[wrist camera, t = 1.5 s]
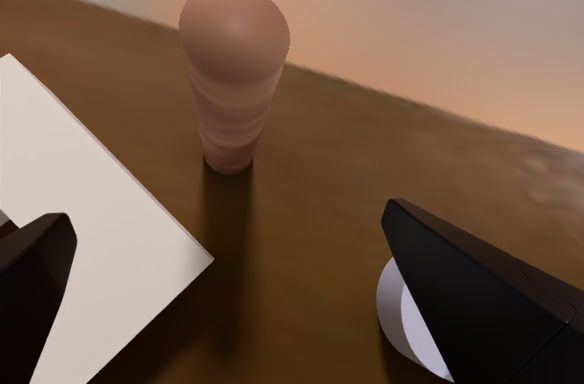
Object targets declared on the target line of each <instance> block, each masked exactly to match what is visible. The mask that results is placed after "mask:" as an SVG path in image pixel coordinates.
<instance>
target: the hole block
mask: <svg viewBox="0 0 584 384" xmlns="http://www.w3.org/2000/svg"><path fill="white" fill-rule="evenodd" d="M58 212H64V213H66V214H67V215H68V216H69V218H70V220H71V223H72V225H73V228H74V230H75V233H76V235H77V248H76V252H75V256H74V259H73V263H72V267H71V271H70V275H69V279H68V283H67V286H66V290H65V294H64V297H63V300H62V303H61V306H60V308H59V311H58V313H57V316H56V318H55V321H54V323H53V326H52V328H51V331H50V333H49V336H48V338H47V341H46V343H45V346H44V348H43V351H42V353H41V356H40V358H39V361H38V363H37V366H36V368H35V371H34V373H33V376H32V378H31V381H30V383H29V384H86V383H87V382H88V381H89V380H90V379H91V378H92V377H93V376H94V375H96V374H97V373H98V372H99V371H100V370H101V369H102V368H103V367H104V366H105V365H106V364H107V363H108V362H109V361H110V360H111V359H112V358H113V357H114V356H115V355H116V354H117V353H118V352H119V351H120V350H121V349H122V348H123V347H125V346H126V345H127V344H128V343H129V342H130V341H131V340H132V339H133V338H134V337H135V336H136V335H137V334H138V333H139V332H140V331H141V330H142V329H143V328H144V327H145V326H146V325H147V324H148V323H149V322H150V321H151V320H153V319H154V318H155V317H156V316H157V315H158V314H159V313H160V312H161V311H162V310H163V309H164V308H165V307H166V306H167V305H168V304H169V303H170V302H171V301H172V300H173V299H174V298H175V297H176V296H177V295H178V294H179V293H180V292H182V291H183V290H184V289H185V288H186V287H187V286H188V285H189V284H190V283H191V282H192V281H193V280H194V279H195V278H196V277H197V276H198V275H199V274H200V273H201V272H202V271H203V270H204V269H205V268H206V267H207V266H208V265H210V264H211V263H212V262H213V260H214V258H213V257H212V256H211V255H210V254H209V253H208V252H207V251H206V250H205V249H204V248H203V247H202V246H201V245H200V244H199V242H198V241H197V240H196V239H195V238H194V237H193V236H192V235H191V234H190V233H189V232H188V231H187V230H186V229H185V228H184V227H183V226H182V225H181V224H180V223H179V222H178V221H177V220H176V219H175V218H174V217H173V216H172V215H171V214H170V213H169V212H168V211H167V210H166V209H165V208H164V207H163V206H162V205H161V204H160V203H159V202H158V201H157V200H156V198H155V197H154V196H153V195H152V194H151V193H150V192H149V191H148V190H147V189H146V188H145V187H144V186H143V185H142V184H141V183H140V182H139V181H138V180H137V179H136V178H135V177H134V176H133V175H132V174H131V173H130V172H129V171H128V170H127V169H126V168H125V167H124V166H123V165H122V164H121V163H120V162H119V161H118V160H117V159H116V158H115V157H114V155H113V154H112V153H111V152H110V151H109V150H108V149H107V148H106V147H105V146H104V145H103V144H102V143H101V142H100V141H99V140H98V139H97V138H96V137H95V136H94V135H93V134H92V133H91V132H90V131H89V130H88V129H87V128H86V127H85V126H84V125H83V124H82V123H81V122H80V121H79V120H78V119H77V118H76V117H75V116H74V115H73V114H72V112H71V111H70V110H69V109H68V108H67V107H66V106H65V105H64V104H63V103H62V102H61V101H60V100H59V99H58V98H57V97H56V96H55V95H54V94H53V93H52V92H51V91H50V90H49V89H48V88H47V87H46V86H45V85H44V84H42V83H41V82H40V81H39V80H38V79H37V78H36V77H35V76H34V75H33V74H32V73H30V72H29V71H28V70H27V69H26V68H25V67H24V66H23V65H22V64H21V63H19V62H18V61H17V60H16V59H15V58H14V57H13V56H12V55H11V54H10V53H9V54H7V55H5V56H4V57H2V58H0V226H2V225H3V224H5V223H6V222H7V221H9V220H10V219H11V220H12V221H13V222H14V223H15V224H16V225H17V226H18V227H19V228H21V227H23V226H25V225H27V224H28V223H30V222H32V221H33V220H35V219H37V218H39V217H40V216H42V215H44V214H46V213H58Z"/></svg>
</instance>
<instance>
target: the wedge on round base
mask: <svg viewBox="0 0 584 384" xmlns="http://www.w3.org/2000/svg"><path fill="white" fill-rule="evenodd" d="M376 303H377V312H378V318H379V321H380V324H381V327H382V329H383V331H384V333H385V335H386V337H387V338H388V340H389V341H390V342H391V344H392V345H393V346H394V347H395V348H396V349H397V350H398V351H399V352H400V353H402V354H403V355H404V356H406V357H407V358H409V359H411V360H412V361H414V362H416V363H418V364H419V365H421V366H423V367H424V368H426V369H428V370H429V371H431V372H433V373H434V374H436V375H438V376H440V377H442V378H444V379H447V380H449V381H452V382H454V381H453V379H452V377H451V375H450V373H449V371H448V369H447V367H446V365H445V363H444V361H443V359H442V357H441V354H440V352H439V350H438V348H437V346H436V344H435V342H434V340H433V338H432V336H431V334H430V332H429V330H428V328H427V326H426V324H425V322H424V320H423V318H422V316H421V314H420V312H419V310H418V308H417V306H416V304H415V302H414V300H413V298H412V296H411V294H410V292H409V290H408V288H407V286H406V284H405V282H404V280H403V278H402V276H401V274H400V272H399V270H398V267H397V265H396V263H395V260H394V258H393V257H392V258H391V260H390V261H389V262H388V263H387V265H386V266H385V268H384V270H383V272H382V274H381V277H380V280H379V283H378V288H377V297H376Z"/></svg>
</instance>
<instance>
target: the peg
mask: <svg viewBox="0 0 584 384" xmlns="http://www.w3.org/2000/svg"><path fill="white" fill-rule="evenodd" d="M179 31H180V37H181V42H182V47H183V52H184V57H185V62H186V67H187V72H188V77H189V82H190V87H191V92H192V97H193V102H194V107H195V112H196V117H197V122H198V128H199V133H200V138H201V143H202V148H203V153H204V157H205V160H206V162H207V164H208V165H209V166H210V167H211V168H212V169H213V170H214V171H216V172H218V173H220V174H224V175H235V174H238V173H241V172H242V171H244V170H245V169H246V168H247V167H248V166H249V165H250V163H251V161H252V158H253V155H254V152H255V149H256V146H257V143H258V140H259V137H260V134H261V131H262V128H263V125H264V122H265V119H266V116H267V113H268V110H269V107H270V104H271V101H272V98H273V95H274V92H275V89H276V86H277V83H278V80H279V77H280V74H281V71H282V68H283V65H284V62H285V59H286V56H287V53H288V50H289V45H290V34H289V28H288V25H287V22H286V20H285V18H284V16H283V14H282V13H281V11H280V10H279V8H278V7H277V6H276V5H275V4H274V3H273V2H272V1H271V0H188V1H187V2H186V4H185V6H184V7H183V9H182V12H181V15H180V21H179Z"/></svg>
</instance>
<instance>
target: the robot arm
mask: <svg viewBox="0 0 584 384" xmlns="http://www.w3.org/2000/svg"><path fill="white" fill-rule="evenodd" d="M381 224H382V228H383V230H384V233H385V236H386V239H387V241H388V244H389V247H390V249H391V252H392V255H393V258H394V260H395V263H396V265H397V267H398V270H399V272H400V274H401V276H402V278H403V280H404V282H405V284H406V286H407V288H408V290H409V292H410V294H411V296H412V298H413V300H414V302H415V304H416V306H417V308H418V310H419V312H420V314H421V316H422V318H423V320H424V322H425V324H426V326H427V328H428V330H429V332H430V334H431V336H432V338H433V340H434V342H435V344H436V346H437V348H438V350H439V352H440V354H441V357H442V359H443V361H444V363H445V365H446V367H447V369H448V371H449V373H450V375H451V377H452V379H453V381H454V383H455V384H584V291H583V290H581V289H579V288H577V287H575V286H573V285H571V284H568V283H566V282H564V281H562V280H560V279H558V278H556V277H554V276H552V275H550V274H548V273H546V272H544V271H542V270H540V269H538V268H536V267H534V266H532V265H530V264H528V263H526V262H524V261H522V260H520V259H518V258H516V257H513V256H512V255H510V254H508V253H507V252H505V251H503V250H501V249H499V248H497V247H495V246H493V245H491V244H489V243H487V242H485V241H483V240H481V239H480V238H478V237H476V236H474V235H472V234H470V233H468V232H466V231H464V230H462V229H460V228H458V227H456V226H454V225H453V224H451V223H449V222H447V221H445V220H443V219H441V218H439V217H437V216H435V215H433V214H431V213H429V212H428V211H426V210H424V209H422V208H420V207H418V206H416V205H414V204H412V203H410V202H408V201H406V200H404V199H402V198H395V199H390V200H389V201H388V202H387V204H386V207H385V210H384V213H383V216H382V219H381ZM76 248H77V235H76V233H75V230H74V228H73V225H72V223H71V220H70V218H69V216H68V215H67V214H66V213H64V212H58V213H46V214H44V215H42V216H40V217H39V218H37V219H35V220H33V221H32V222H30V223H28V224H27V225H25V226H23V227H21V228H20V229H18V230H16V231H15V232H13V233H11V234H9V235H8V236H6V237H4V238H2V239H1V240H0V384H29V383H30V381H31V378H32V376H33V373H34V371H35V368H36V366H37V363H38V361H39V358H40V356H41V353H42V351H43V348H44V346H45V343H46V341H47V338H48V336H49V333H50V331H51V328H52V326H53V323H54V321H55V318H56V316H57V313H58V311H59V308H60V306H61V303H62V300H63V297H64V294H65V290H66V286H67V283H68V279H69V275H70V271H71V267H72V263H73V259H74V256H75V252H76Z"/></svg>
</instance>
